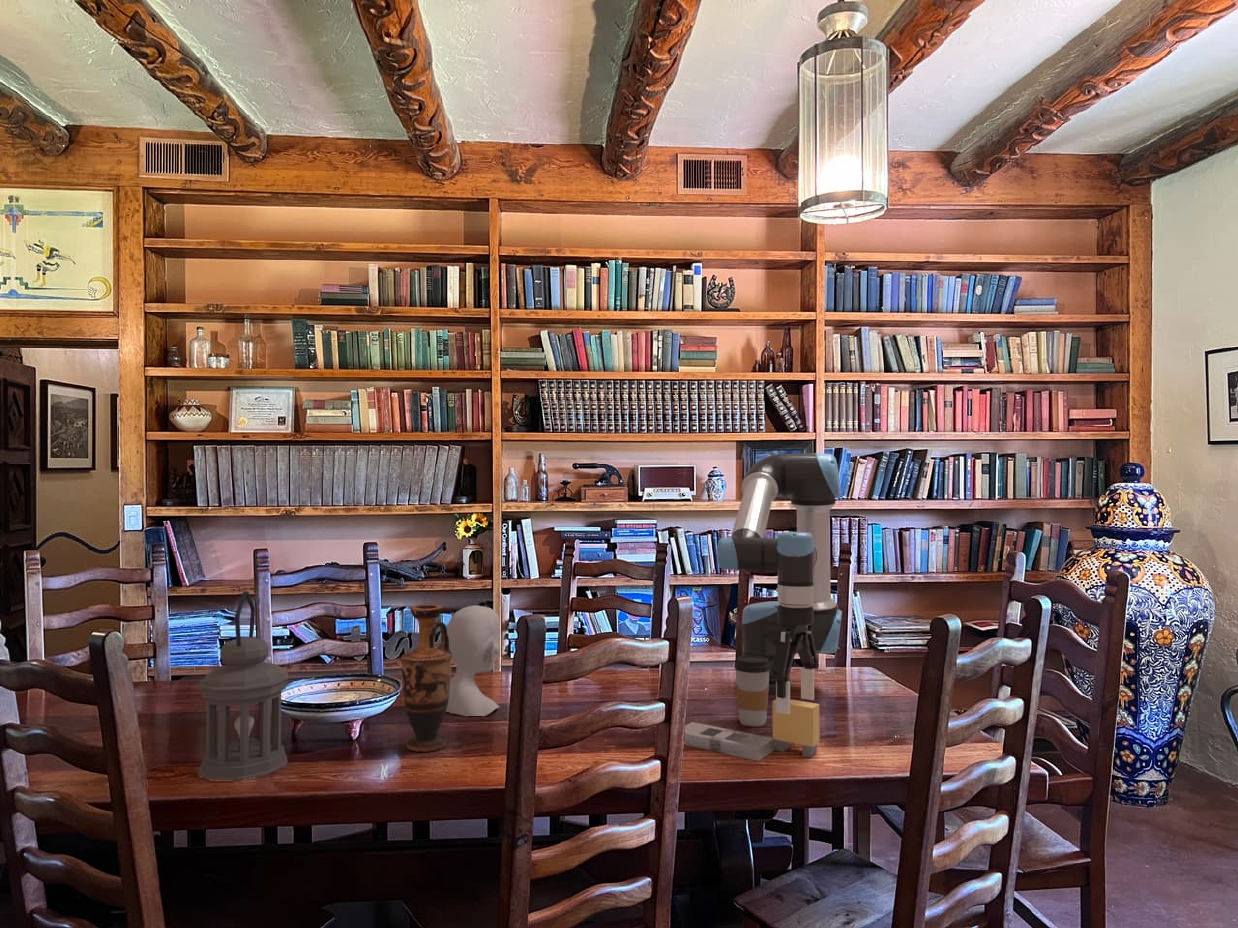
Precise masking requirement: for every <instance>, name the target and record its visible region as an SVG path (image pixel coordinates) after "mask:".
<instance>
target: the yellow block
mask: <svg viewBox="0 0 1238 928" xmlns="http://www.w3.org/2000/svg"><path fill="white" fill-rule="evenodd" d="M820 732H821V731H820V704H819V703H815V702H809V701H802V700H797V699H791V698H790V714H789V715H788V714H782V713H777V712H776V699H774V700H772V738H775V750H774V751H778V752H779V751H780V752H785V751H786V750H788V749H789V748H791V744H795V745H796V744H797V745H800V746H801V745H802V747H801V749H802V750H801V753H802V756H803V757H807V758H812V757H813V756H814V755H815V754H816V753H818V744H820V743H821V742H820Z"/></svg>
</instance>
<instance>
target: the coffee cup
mask: <svg viewBox="0 0 1238 928" xmlns="http://www.w3.org/2000/svg"><path fill="white" fill-rule="evenodd" d="M734 665H735V666H734V670H735V687H736V698H737V702H736V703H737V711H738V720H739V721H740V724H741V725H743V726H747V727H762V726H764V725H765V724H766V723H767V715H768V707H769V704H768V703H769V694H768V692H769V671H770V664H769V663H768V659H767V658H765V657H761V656H742V655H741V656H738V657H737V658H736V661H735V663H734Z"/></svg>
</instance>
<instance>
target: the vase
mask: <svg viewBox="0 0 1238 928" xmlns="http://www.w3.org/2000/svg"><path fill="white" fill-rule="evenodd" d="M443 609H444V606H443V605H441V604H432V603H431V604H430V603H429V604H428V603H426V604H417V605H412V606H410V607H409V610H410V612H411V613H410V614H411V615H412V617H413V619H415V620H417V622H418V623H417V624H418V645H417V648H415V649H414V650H413V651H410V652H407V653H404V654H402V655H400V662H401V663H400V664H401V671H402V672H401V674H402V692H403V701H404V702H403V703H404V706H405V711H406V716H407V719H408V722H409V724H410V726H411V729H412V731H413V734H414V736H413V737H412V738H410V739H408V740H407V742H406V748H407V750H409V751H413V752H416V753H420V752H421V753H428V752H429V753H430V752H435V751H438V750H439V751H440V750H441V749H443V748H445V747H446V746H447V744H448V743H447V739H446V737H445V736H443V735H439V731H440V728H441V725H442V722H443V721H444V718H445V716H446V714H447V713H446V709H447V705H448V700H449V693H450V681H451V678H452V665H453V663H452V662H453V660H452V653H451V651H450V648H449V637H448V632H447V627H448V626H447V625H446V624H445V622H442V621H440V620H438V619H437V618H438V617H440V616H441V613H442V612H443ZM438 629H440V634H441V635H440V637H441V638H440V639H441V641H440V645H439V646H438V647H437V644H436V642H435V641H436V634H437V631H438Z"/></svg>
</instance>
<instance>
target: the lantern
mask: <svg viewBox="0 0 1238 928" xmlns="http://www.w3.org/2000/svg"><path fill="white" fill-rule="evenodd" d="M245 600H247V603H248V605H249V608H250V618H249V619H250V620H249V621H250V622H249V631H248V634H249V635H248V637H242V636H241V622H240V619H241V618H240V617H241V613H242V610H243V606H244V603H245ZM255 615H256V606H255V603H254V602H253V600H252V596H251V595H250V593H249V591H248V590H246V591H245V590H244V591H243V592H242V593H241V596H240V599H239V602H238V606H237V608H236V611H235V616H234V623H235V624H234V625H235V639H232V640H229V641H226V642H225V643H224V644H223V645H222V647H221V648H220V660H221V661H222V663H223V664H225V665H222V666H220V667H216V668H214V669H212V670H210V671H209V672H208V673H206V675H205V677H204V678H201V679H199V684H198V688H199V689H201V698H203V699H206V715H205V716H206V717H205V718H206V721H205V722H206V724H205V725H206V729H205V730H206V731H205V732H206V734H205V736H206V738H205V739H206V740H205V744H206V745H205V749H206V750H205V755H203V756H202V760H201V765H200V766H199V769H198V776H202V777H205V778H209V779H212V780H244V779H249V778H253V777H257V776H261V775H265V774H269V773H272V772H274V771H276V770H278V769H279V770H281V769H282V768H281V767H283V768H284V767H286V766H287V765H289V764H288V758H287V757H288V755H287V754H286V752H285V746H284V745H283V744H282V691H283V690H285V689H287V681H288V680H289V679H290V677H289V673H288V671H287V670H284V669H283V668H282V667H281V666H280V665H278V664H276V663H272V662H266V661H265V660H266V659H267V658H268V656H269V653H270V647H269V646H270V645H269V643H268V642H266V640H265V639H263V638H258V637H254V630H255V617H256V616H255ZM253 704H258V738H253V739H250V734H251V731H252V730H253V727H254V725H255V719H254V717H253V716H252V715H251V714H250V705H253ZM231 706H239V709H240V710H239V716H238V717H237V718H236V719H235V721H234V728H235V731H236V732H237V734H238V738H239V740H236V741H230V709H231V708H230V707H231ZM280 768H281V769H280ZM279 770H278V771H279ZM276 772H277V771H276ZM274 773H275V772H274ZM269 775H270V774H269ZM198 776H197V777H198ZM265 776H266V775H265ZM261 777H262V776H261ZM257 778H258V777H257ZM253 779H254V778H253ZM249 780H250V779H249Z"/></svg>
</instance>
